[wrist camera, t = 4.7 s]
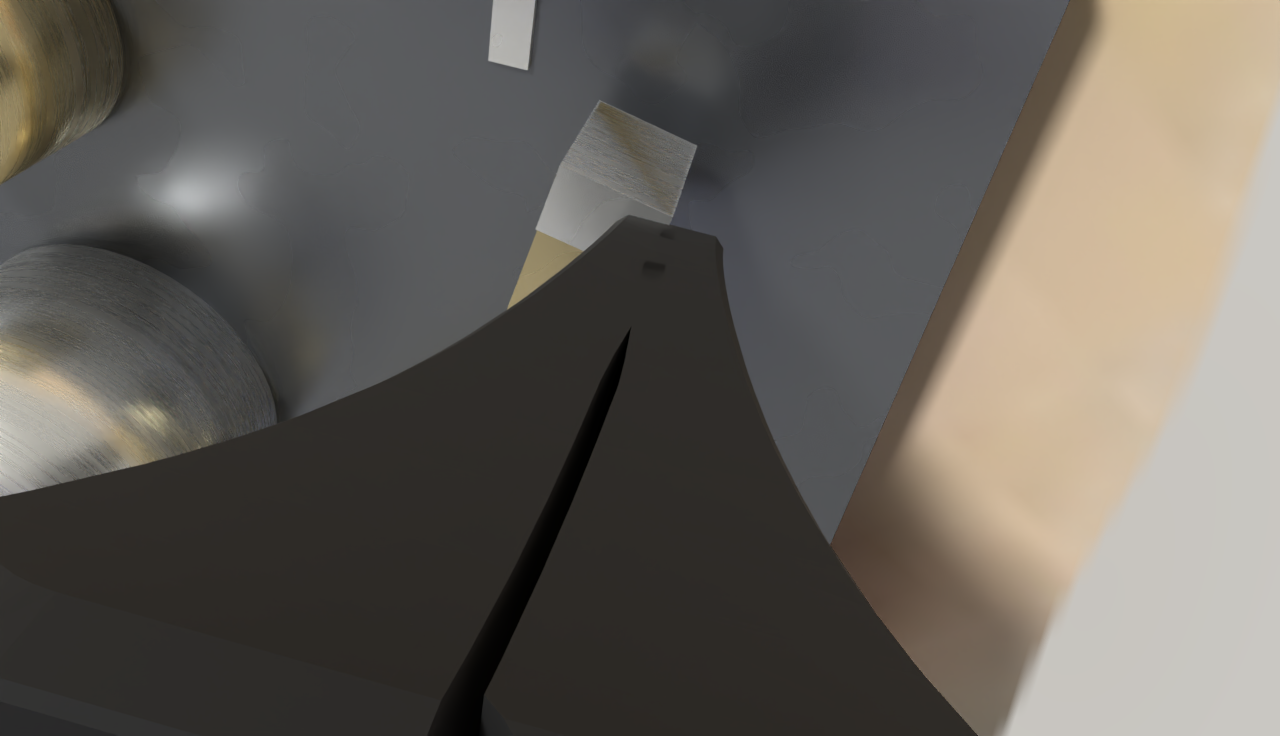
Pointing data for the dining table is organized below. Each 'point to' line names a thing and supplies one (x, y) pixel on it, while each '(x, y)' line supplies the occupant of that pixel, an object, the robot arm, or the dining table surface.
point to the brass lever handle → (605, 189)
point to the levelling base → (465, 197)
